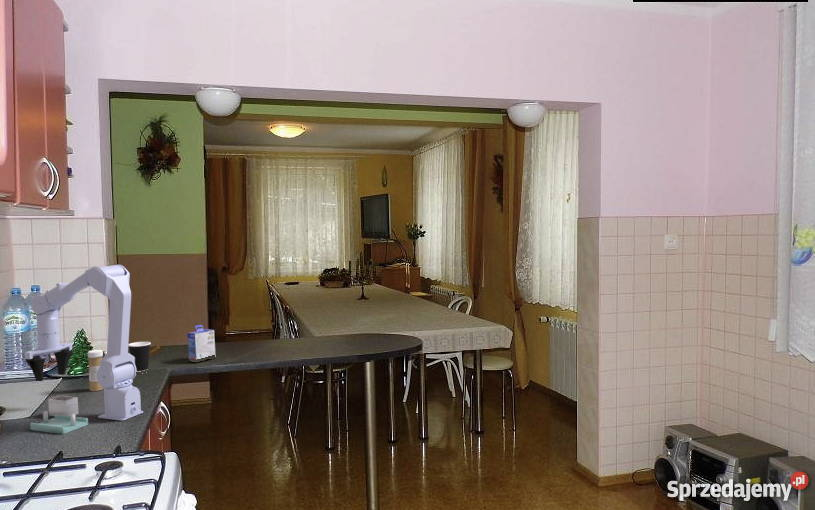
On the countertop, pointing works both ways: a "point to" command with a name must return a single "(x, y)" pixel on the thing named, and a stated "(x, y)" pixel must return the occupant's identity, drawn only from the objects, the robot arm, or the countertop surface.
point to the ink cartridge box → (201, 343)
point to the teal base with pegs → (59, 423)
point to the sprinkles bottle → (94, 368)
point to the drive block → (63, 405)
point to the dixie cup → (140, 354)
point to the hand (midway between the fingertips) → (50, 377)
